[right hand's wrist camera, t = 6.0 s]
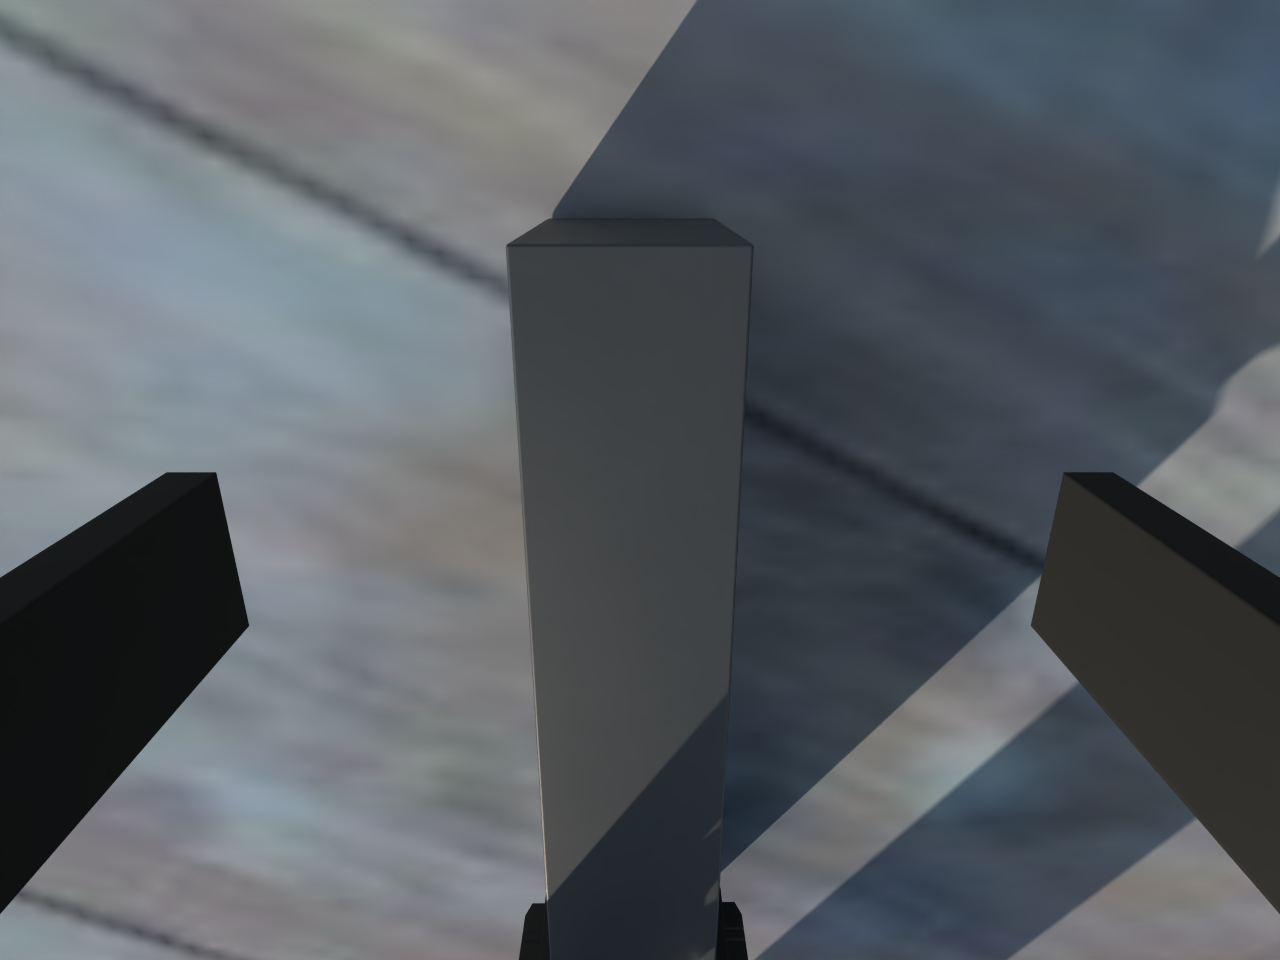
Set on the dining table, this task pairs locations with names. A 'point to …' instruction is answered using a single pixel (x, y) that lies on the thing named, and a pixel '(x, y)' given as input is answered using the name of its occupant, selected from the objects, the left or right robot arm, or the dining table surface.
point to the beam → (631, 566)
